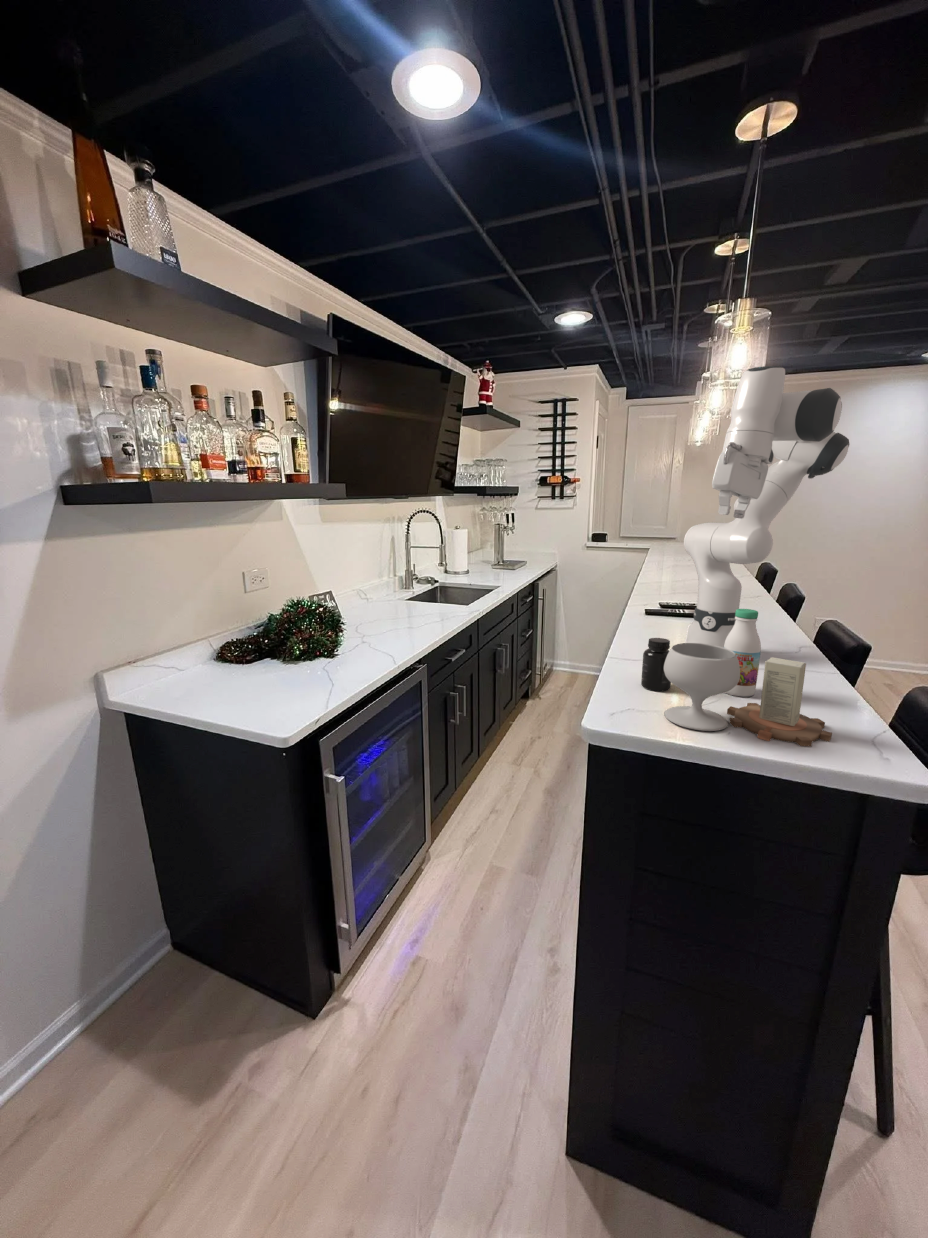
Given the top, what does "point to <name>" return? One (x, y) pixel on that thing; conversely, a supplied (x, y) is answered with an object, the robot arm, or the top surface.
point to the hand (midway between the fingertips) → (731, 516)
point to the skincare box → (782, 691)
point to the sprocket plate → (778, 726)
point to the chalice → (700, 682)
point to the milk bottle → (745, 651)
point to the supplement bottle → (655, 665)
